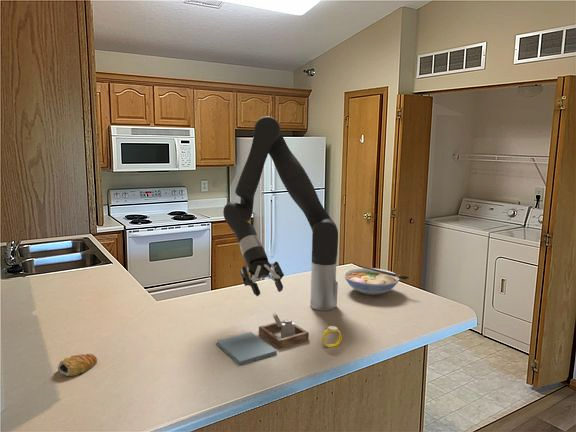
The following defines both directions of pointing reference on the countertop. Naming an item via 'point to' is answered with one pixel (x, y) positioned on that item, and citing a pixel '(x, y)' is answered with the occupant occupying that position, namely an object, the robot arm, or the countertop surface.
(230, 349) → the slate board
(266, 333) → the frame
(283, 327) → the lighter
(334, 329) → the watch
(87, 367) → the pastry
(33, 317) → the countertop surface
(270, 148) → the robot arm
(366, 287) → the ramen bowl
